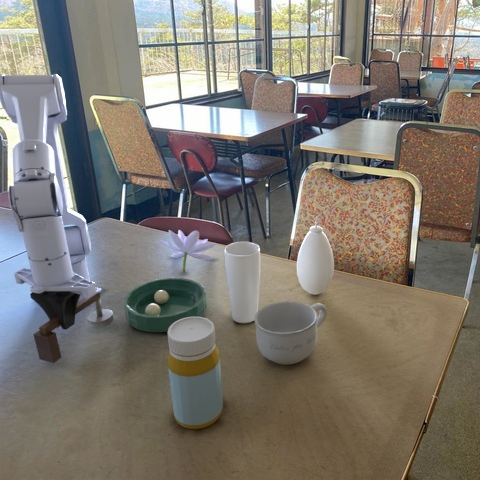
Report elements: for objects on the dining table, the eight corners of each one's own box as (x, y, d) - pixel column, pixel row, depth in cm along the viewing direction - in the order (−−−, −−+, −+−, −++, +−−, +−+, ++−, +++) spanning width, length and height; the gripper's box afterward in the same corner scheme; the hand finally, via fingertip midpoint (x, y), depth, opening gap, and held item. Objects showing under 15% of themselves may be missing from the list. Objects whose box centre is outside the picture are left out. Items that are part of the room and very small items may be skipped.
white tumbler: (255, 329, 91) (253, 258, 85) (222, 324, 93) (217, 253, 87) (266, 310, 98) (265, 243, 92) (234, 306, 99) (231, 239, 93)
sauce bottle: (290, 297, 103) (291, 218, 96) (305, 281, 109) (306, 206, 102) (324, 305, 100) (327, 224, 93) (337, 288, 107) (341, 212, 100)
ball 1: (143, 319, 92) (141, 306, 91) (151, 312, 94) (150, 299, 93) (155, 322, 91) (153, 309, 90) (164, 314, 94) (162, 302, 93)
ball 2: (152, 305, 97) (150, 293, 96) (160, 298, 99) (158, 286, 98) (164, 307, 96) (162, 295, 95) (172, 300, 99) (170, 288, 97)
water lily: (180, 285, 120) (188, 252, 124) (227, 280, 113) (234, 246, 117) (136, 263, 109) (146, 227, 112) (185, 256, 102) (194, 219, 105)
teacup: (269, 380, 78) (268, 339, 75) (246, 344, 87) (245, 306, 84) (343, 357, 84) (345, 318, 81) (315, 326, 93) (316, 289, 90)
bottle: (179, 398, 74) (169, 315, 68) (225, 396, 74) (219, 314, 68) (170, 433, 67) (158, 344, 61) (220, 431, 68) (214, 343, 62)
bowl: (109, 326, 91) (106, 308, 89) (157, 289, 104) (155, 273, 103) (179, 342, 87) (177, 324, 85) (220, 301, 100) (219, 284, 99)
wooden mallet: (99, 312, 93) (94, 284, 90) (118, 316, 92) (113, 288, 89) (36, 358, 80) (28, 327, 77) (57, 364, 79) (50, 332, 76)
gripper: (-10, 256, 75) (10, 329, 80) (66, 271, 71) (82, 347, 76) (28, 239, 81) (44, 308, 86) (99, 252, 77) (112, 323, 83)
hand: (64, 325), depth 82 cm, fingers closed on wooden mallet
